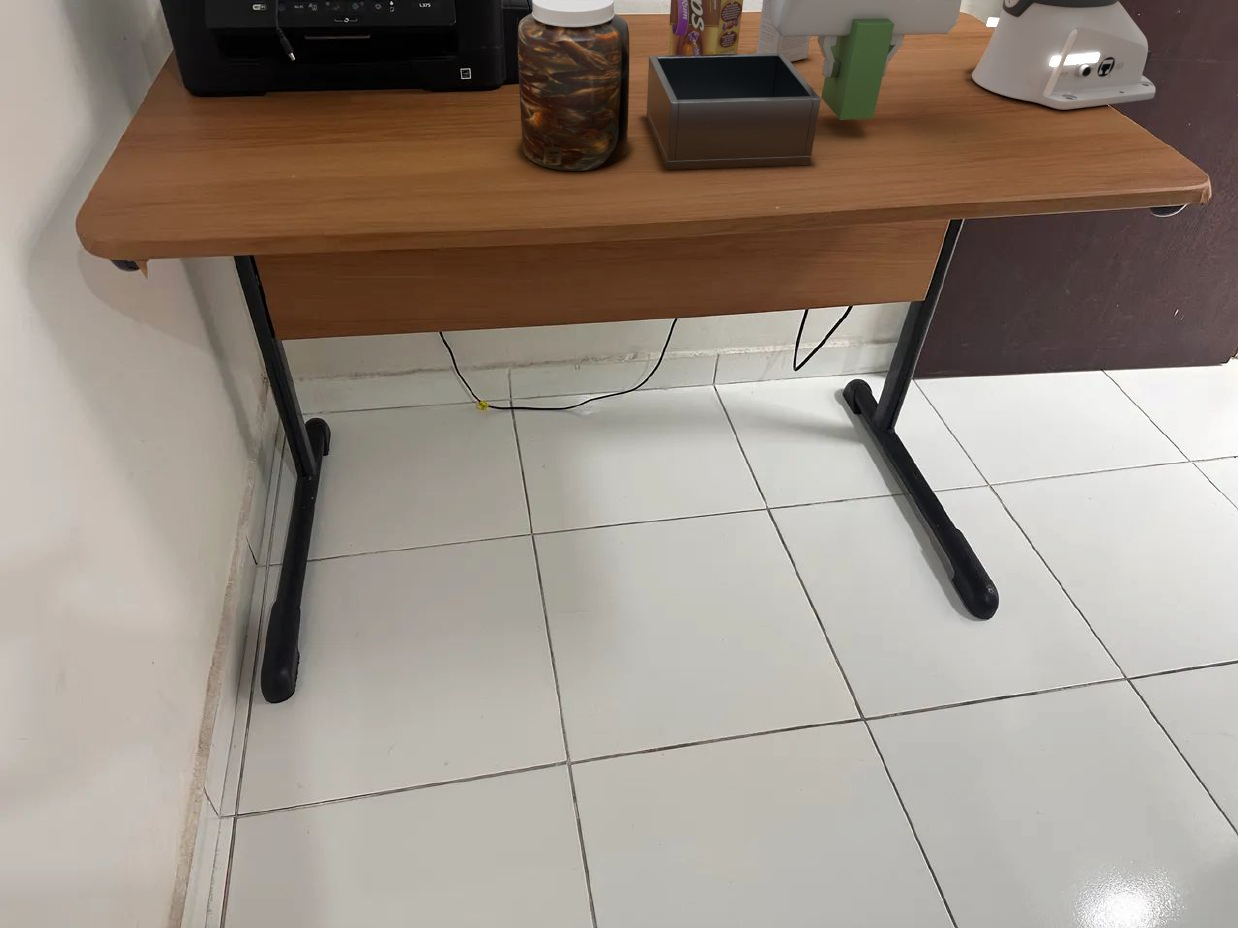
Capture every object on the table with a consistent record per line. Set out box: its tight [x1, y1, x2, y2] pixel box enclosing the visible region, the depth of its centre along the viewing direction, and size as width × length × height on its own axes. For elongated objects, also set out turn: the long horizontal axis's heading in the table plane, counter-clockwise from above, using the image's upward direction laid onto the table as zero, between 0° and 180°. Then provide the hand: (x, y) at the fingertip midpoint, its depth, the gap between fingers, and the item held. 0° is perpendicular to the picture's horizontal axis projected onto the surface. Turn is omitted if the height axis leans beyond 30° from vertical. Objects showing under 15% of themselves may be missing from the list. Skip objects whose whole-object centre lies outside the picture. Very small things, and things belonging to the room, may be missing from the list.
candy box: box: [667, 0, 744, 55], centre depth 107 cm, size 9×4×15 cm, turn 39°
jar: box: [517, 0, 631, 172], centre depth 90 cm, size 12×12×15 cm
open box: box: [646, 52, 822, 171], centre depth 95 cm, size 16×15×7 cm
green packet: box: [820, 19, 894, 121], centre depth 97 cm, size 4×7×10 cm, turn 7°
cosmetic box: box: [756, 0, 811, 63], centre depth 115 cm, size 6×4×12 cm
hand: (852, 76), depth 98 cm, fingers closed on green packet, 4 cm apart
